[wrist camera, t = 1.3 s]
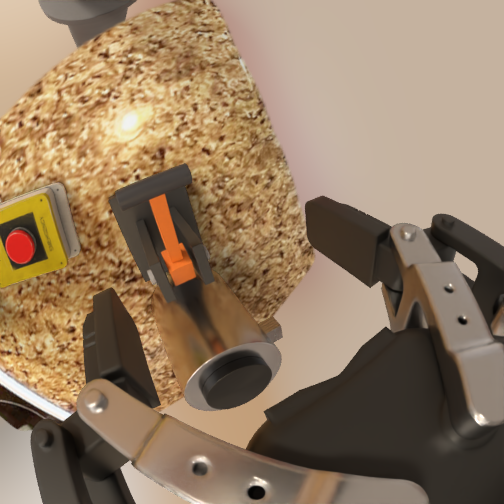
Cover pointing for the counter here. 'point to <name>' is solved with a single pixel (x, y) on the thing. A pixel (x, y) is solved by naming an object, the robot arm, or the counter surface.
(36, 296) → the counter surface
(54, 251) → the emergency button
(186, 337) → the kettle
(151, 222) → the orange lever mount
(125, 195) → the switch
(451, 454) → the robot arm
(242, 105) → the counter surface
